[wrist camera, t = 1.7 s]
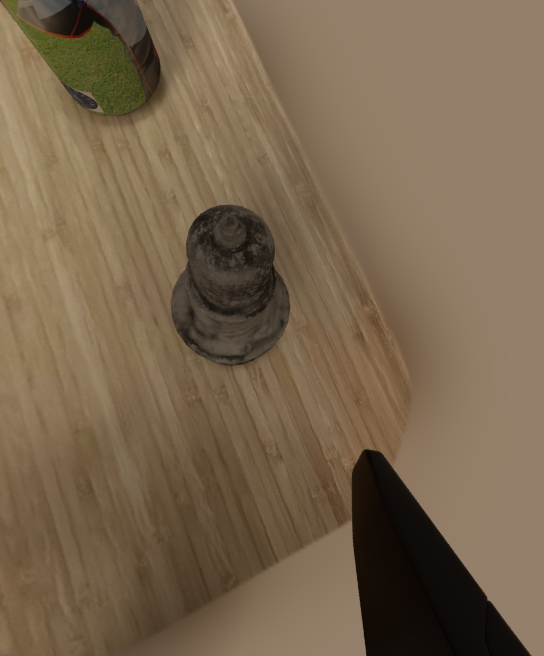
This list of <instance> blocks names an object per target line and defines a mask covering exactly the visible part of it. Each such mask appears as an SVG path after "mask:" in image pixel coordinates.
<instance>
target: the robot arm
mask: <svg viewBox="0 0 544 656" xmlns="http://www.w3.org/2000/svg"><path fill="white" fill-rule="evenodd" d="M352 528H353V530H352V531H353V547H354V556H355V564H356V573H357V581H358V589H359V597H360V606H361V614H362V622H363V630H364V639H365V646H366V655H367V656H531V655H530V653H529V652H528V651H527V649H526V648H525V647H524V646H523V644H522V643H521V642H520V640H519V639H518V638H517V636H516V635H515V634H514V632H513V631H512V630H511V628H510V627H509V626H508V624H507V623H506V622H505V620H504V619H503V618H502V616H501V615H500V614H499V612H498V611H497V610H496V608H495V607H494V605H493V604H492V603H491V602H490V601H487V596H486V595H485V593H484V592H483V591H482V589H481V588H480V587H479V585H478V584H477V582H476V581H475V580H474V578H473V577H472V576H471V574H470V573H469V571H468V570H467V569H466V567H465V566H464V565H463V563H462V562H461V561H460V559H459V558H458V556H457V555H456V554H455V553H454V551H453V550H452V548H451V547H450V546H449V544H448V543H447V541H446V540H445V539H444V537H443V536H442V535H441V533H440V532H439V530H438V529H437V528H436V526H435V525H434V524H433V522H432V521H431V520H430V518H429V517H428V515H427V514H426V513H425V511H424V510H423V509H422V507H421V506H420V505H419V503H418V502H417V500H416V499H415V498H414V496H413V495H412V494H411V492H410V491H409V489H408V488H407V487H406V485H405V484H404V483H403V481H402V480H401V479H400V477H399V476H398V474H397V473H396V472H395V470H394V469H393V468H392V466H391V465H390V464H389V462H388V461H387V459H386V458H385V457H384V455H383V454H382V453H381V452H379V451H374V450H369V449H365V450H363V452H362V453H361V455H360V457H359V459H358V461H357V463H356V465H355V467H354V469H353V472H352Z"/></svg>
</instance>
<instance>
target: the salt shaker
mask: <svg viewBox="0 0 544 656" xmlns="http://www.w3.org/2000/svg"><path fill="white" fill-rule="evenodd" d="M186 250H187V257H188V263H187V266H186V269H185V270H184V272H183V273H182V274H181V275H180V277H179V279H178V281H177V283H176V285H175V287H174V290H173V295H172V300H171V310H172V319H173V322H174V324H175V327H176V330H177V332H178V334H179V335H180V336H181V338H182V339H183V341H184V342H185V343H186V345H187V346H188V347H190V348H191V349H192V350H193V351H195V352H196V353H197V354H198V355H200V356H202V357H205V358H207V359H208V360H211V361H213V362H215V363H218V364H223V365H229V366H231V365H241V364H244V363H247V362H249V361H252V360H254V359H255V358H257V357H260V356H261V355H263V354H264V353H265V352H267V351H268V350H270V349H271V348H272V347H273V346H274V345H275V344H276V342H277V341H278V340H279V339H280V337H281V336H282V335H283V332H284V330H285V328H286V325H287V323H288V319H289V311H290V302H289V295H288V291H287V288H286V286H285V284H284V281H283V279H282V278H281V276H280V275H279V274H278V272H277V271H276V270H275V268H274V265H273V261H274V254H275V248H274V241H273V237H272V234H271V232H270V230H269V228H268V226H267V225H266V223H265V222H264V221H263V220H262V218H260V217H259V216H258V215H257V214H255V213H254V212H253V211H251V210H248V209H246V208H244V207H241V206H236V205H219V206H216V207H213V208H210V209H208V210H206V211H205V212H203V213H201V214H200V215H199V216H198V217H197V218H196V219H195V220H194V222H193V224H192V226H191V227H190V229H189V232H188V237H187V242H186Z"/></svg>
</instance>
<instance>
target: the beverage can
mask: <svg viewBox="0 0 544 656" xmlns="http://www.w3.org/2000/svg"><path fill="white" fill-rule="evenodd" d="M0 2H1V3H2V4H3V6H4V7H5V8H6V10H7V11H8V12H9V14H10V15H11V16H12V18H13V19H14V20H15V22H16V23H17V24H18V26H19V27H20V28H21V30H22V31H23V32H24V34H25V35H26V36H27V38H28V39H29V40H30V42H31V43H32V44H33V46H34V47H35V48H36V50H37V51H38V52H39V53H40V55H41V56H42V57H43V59H44V60H45V61H46V63H47V64H48V65H49V67H50V68H51V69H52V71H53V72H54V73H55V75H56V76H57V77H58V79H59V80H60V81H61V83H62V84H63V85H64V87H65V88H66V89H67V91H68V92H69V93H70V95H71V96H72V97H73V99H74V100H75V101H76V102H77V103H78V104H79V105H80V106H82V107H83V108H84V109H86V110H88V111H90V112H92V113H95V114H98V115H104V116H118V115H122V114H126V113H129V112H131V111H134V110H135V109H137V108H139V107H140V106H142V105H143V104H144V103H145V102H147V100H148V99H149V98H150V97H151V96H152V94H153V93H154V91H155V90H156V87H157V85H158V82H159V78H160V61H159V57H158V54H157V52H156V49H155V46H154V44H153V41H152V39H151V36H150V33H149V31H148V28H147V26H146V23H145V20H144V18H143V15H142V13H141V10H140V7H139V5H138V2H137V0H0Z"/></svg>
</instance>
